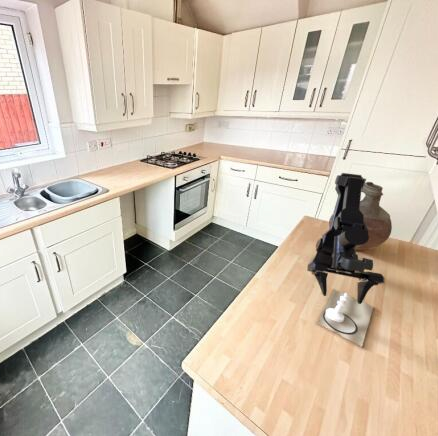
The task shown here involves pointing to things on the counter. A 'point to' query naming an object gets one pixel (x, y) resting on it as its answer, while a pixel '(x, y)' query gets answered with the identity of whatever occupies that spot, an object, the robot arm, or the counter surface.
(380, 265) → the counter surface
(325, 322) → the grey plate with ring
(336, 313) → the chess piece
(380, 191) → the jug
